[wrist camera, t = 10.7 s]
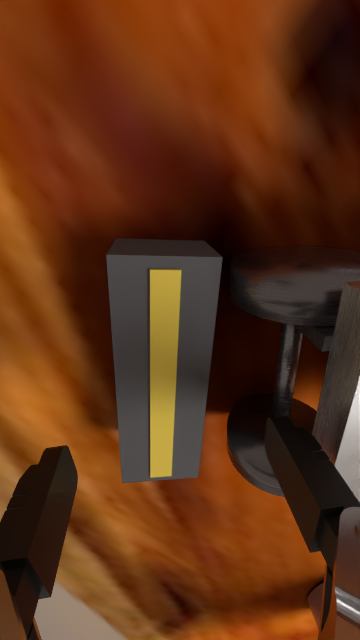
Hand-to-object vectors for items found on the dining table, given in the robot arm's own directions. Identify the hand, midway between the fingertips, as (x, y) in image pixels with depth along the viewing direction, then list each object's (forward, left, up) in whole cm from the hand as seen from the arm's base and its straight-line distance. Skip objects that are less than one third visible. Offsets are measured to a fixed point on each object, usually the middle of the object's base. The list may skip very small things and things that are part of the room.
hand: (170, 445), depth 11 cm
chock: (+1, 0, -7) cm, 7 cm away
